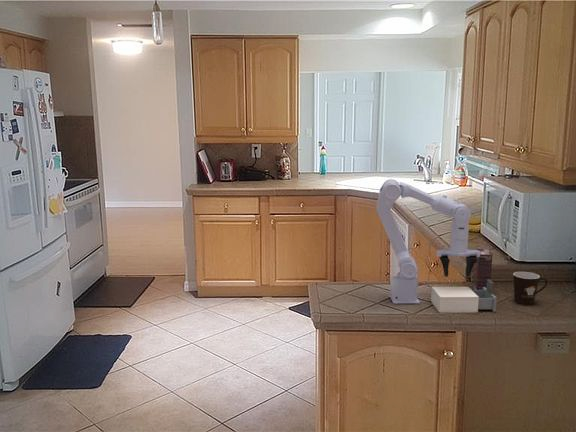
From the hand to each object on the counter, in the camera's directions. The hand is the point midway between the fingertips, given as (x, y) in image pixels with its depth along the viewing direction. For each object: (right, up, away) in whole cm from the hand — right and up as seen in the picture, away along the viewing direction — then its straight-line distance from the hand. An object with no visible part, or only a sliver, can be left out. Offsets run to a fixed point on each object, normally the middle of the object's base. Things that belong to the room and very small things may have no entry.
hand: (456, 276), depth 193 cm
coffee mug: (+26, -10, +1) cm, 28 cm away
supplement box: (+13, -8, +12) cm, 19 cm away
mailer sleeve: (-2, -10, -3) cm, 11 cm away
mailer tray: (+4, -10, -3) cm, 11 cm away
